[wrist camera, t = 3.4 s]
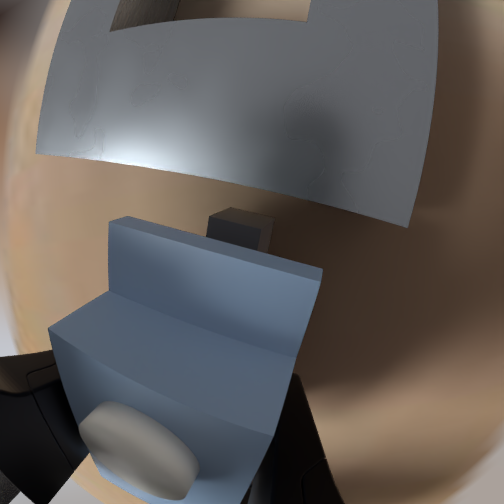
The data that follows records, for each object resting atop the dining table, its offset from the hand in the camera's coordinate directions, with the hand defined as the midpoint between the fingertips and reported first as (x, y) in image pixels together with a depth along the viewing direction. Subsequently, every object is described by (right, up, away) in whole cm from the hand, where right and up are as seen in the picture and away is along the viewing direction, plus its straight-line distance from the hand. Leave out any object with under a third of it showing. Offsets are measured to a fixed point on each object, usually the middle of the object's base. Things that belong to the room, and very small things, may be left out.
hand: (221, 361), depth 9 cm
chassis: (+1, +13, -2) cm, 13 cm away
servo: (0, 0, +1) cm, 1 cm away
